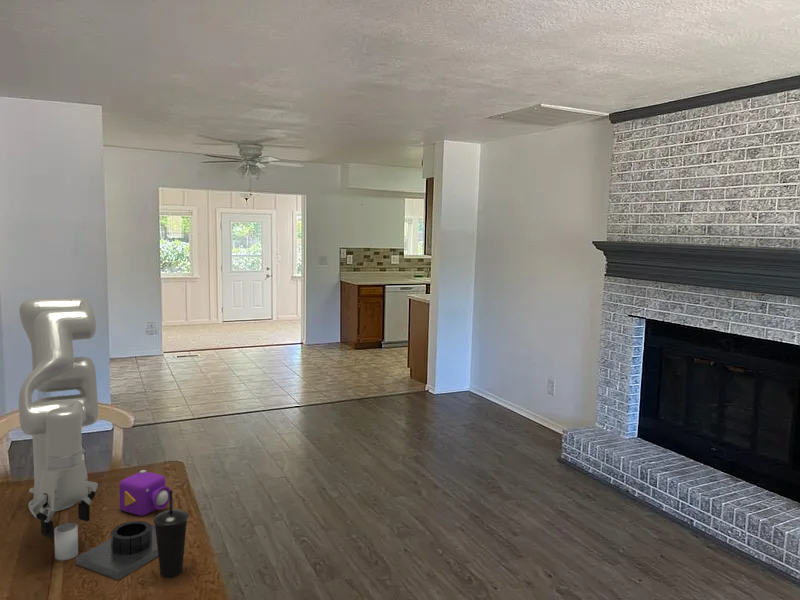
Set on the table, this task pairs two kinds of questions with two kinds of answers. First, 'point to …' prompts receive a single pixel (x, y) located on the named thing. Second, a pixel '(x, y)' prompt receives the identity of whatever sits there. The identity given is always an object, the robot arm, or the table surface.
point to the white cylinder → (66, 541)
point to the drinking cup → (170, 539)
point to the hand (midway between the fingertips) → (66, 527)
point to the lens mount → (122, 550)
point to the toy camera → (143, 493)
